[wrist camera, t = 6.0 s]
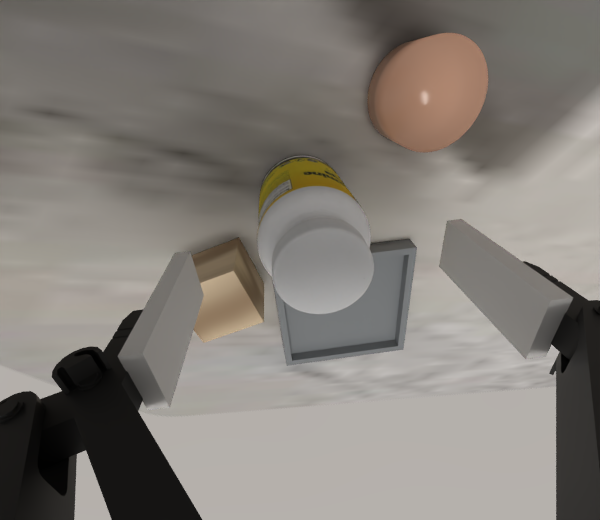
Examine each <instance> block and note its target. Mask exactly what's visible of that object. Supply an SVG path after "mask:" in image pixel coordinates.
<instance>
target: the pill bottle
mask: <svg viewBox="0 0 600 520" xmlns="http://www.w3.org/2000/svg"><path fill="white" fill-rule="evenodd" d="M370 242H371V232H370V226H369V222H368V219H367V217H366V215H365V213H364V211H363V209H362V208H361V206H360V205H359V203H358V202H357V201H356V199H355V198H354V197H353V195H352V194H351V193H350V191H349V190H348V189H347V188H346V186H345V185H344V183H343V182H342V181H341V179H340V178H339V176H338V175H337V174H336V172H335V171H334V170H333V169H332V168H331V167H330V166H329V165H328V164H326V163H325V162H323V161H322V160H320V159H318V158H315V157H311V156H293V157H289V158H287V159H285V160H283V161H281V162H279V163H278V164H276V165H275V166H274V167H273V168H272V169H271V170H270V171H269V172H268V174H267V175H266V177H265V178H264V181H263V183H262V186H261V190H260V197H259V216H258V233H257V246H258V253H259V257H260V260H261V262H262V264H263V266H264V268H265V269H266V271H267V272H268V273H269V274H270V275H271V276H272V278H273V284H274V287H275V289H276V291H277V293H278V294H279V296H280V297H281V299H282V300H283V301H284V302H286V303H287V304H288V305H289V306H291V307H293V308H294V309H297V310H299V311H302V312H305V313H311V314H327V313H332V312H336V311H339V310H342V309H344V308H346V307H348V306H350V305H351V304H353V303H354V302H355V301H357V300H358V299H359V298H360V297H361V296H362V295H363V294H364V293H365V291H366V290H367V288H368V287H369V285H370V283H371V280H372V277H373V273H374V261H373V256H372V253H371V251H370V249H369V248H370Z"/></svg>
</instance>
